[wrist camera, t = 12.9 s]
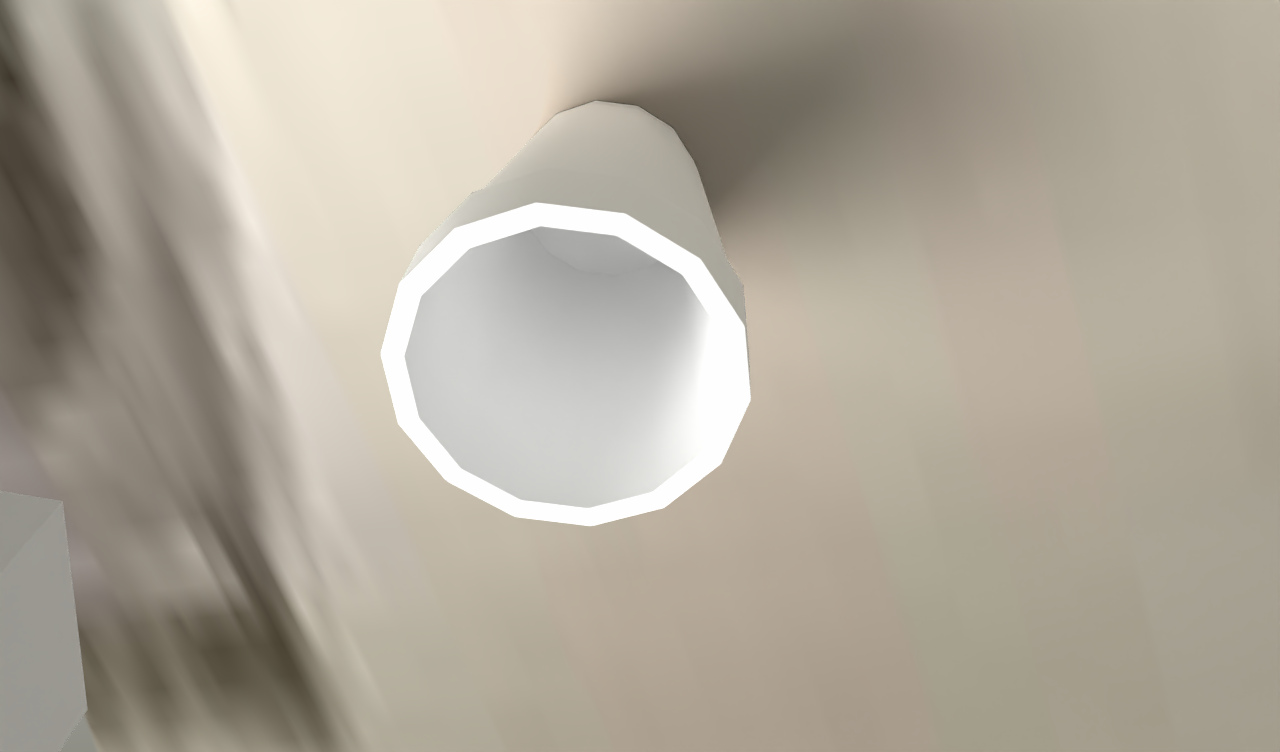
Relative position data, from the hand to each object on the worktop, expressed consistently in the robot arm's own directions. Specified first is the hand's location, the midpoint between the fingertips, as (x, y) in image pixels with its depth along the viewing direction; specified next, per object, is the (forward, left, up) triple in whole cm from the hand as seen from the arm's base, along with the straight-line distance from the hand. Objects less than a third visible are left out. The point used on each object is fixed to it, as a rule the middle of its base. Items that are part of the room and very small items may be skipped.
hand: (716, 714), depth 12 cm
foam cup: (+3, +7, -31) cm, 32 cm away
